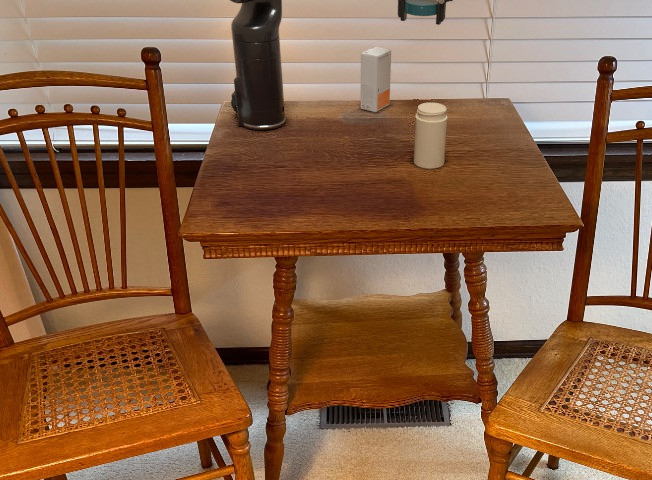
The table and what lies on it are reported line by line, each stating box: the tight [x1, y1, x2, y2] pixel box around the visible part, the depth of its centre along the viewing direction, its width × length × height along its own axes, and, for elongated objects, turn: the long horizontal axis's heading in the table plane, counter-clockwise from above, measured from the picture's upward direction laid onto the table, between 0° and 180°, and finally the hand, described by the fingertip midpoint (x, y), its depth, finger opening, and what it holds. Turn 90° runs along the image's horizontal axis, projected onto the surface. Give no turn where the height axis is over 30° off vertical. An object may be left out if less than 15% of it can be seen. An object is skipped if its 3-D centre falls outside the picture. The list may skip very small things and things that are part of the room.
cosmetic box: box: [360, 46, 392, 113], centre depth 163 cm, size 6×4×12 cm
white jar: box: [413, 102, 449, 170], centre depth 142 cm, size 6×6×11 cm
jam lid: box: [404, 0, 438, 17], centre depth 144 cm, size 7×7×2 cm
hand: (421, 21), depth 146 cm, fingers closed on jam lid, 6 cm apart
